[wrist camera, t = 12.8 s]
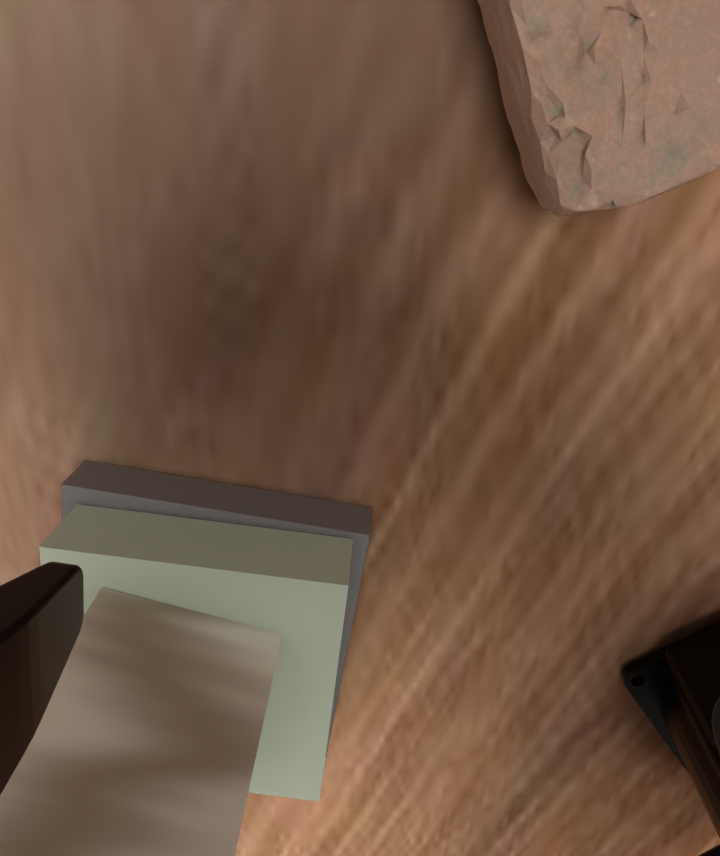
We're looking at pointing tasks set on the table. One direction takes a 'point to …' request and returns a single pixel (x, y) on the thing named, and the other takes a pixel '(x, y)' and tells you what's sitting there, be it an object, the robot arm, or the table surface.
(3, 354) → the table surface
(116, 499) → the base tile
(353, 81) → the table surface
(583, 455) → the table surface
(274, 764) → the top tile
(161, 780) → the tall block
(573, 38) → the brick
